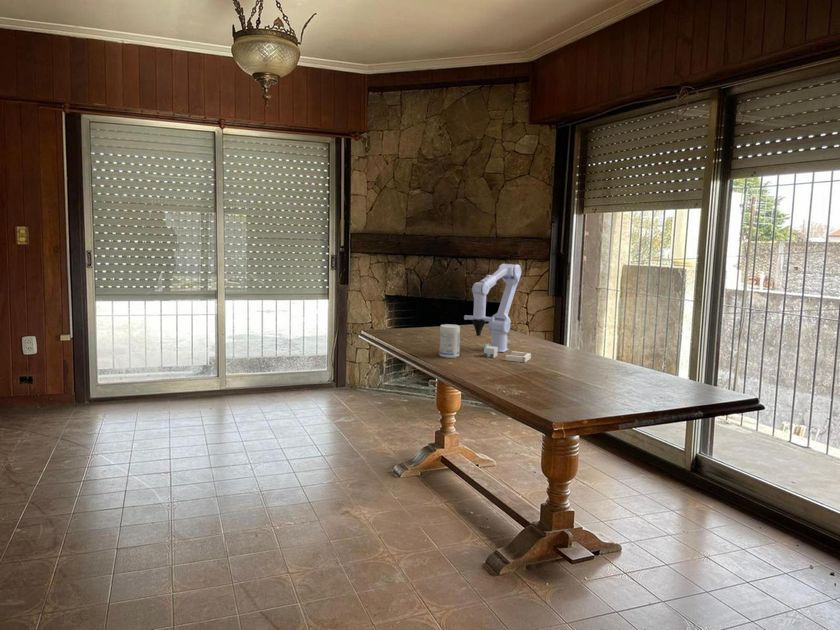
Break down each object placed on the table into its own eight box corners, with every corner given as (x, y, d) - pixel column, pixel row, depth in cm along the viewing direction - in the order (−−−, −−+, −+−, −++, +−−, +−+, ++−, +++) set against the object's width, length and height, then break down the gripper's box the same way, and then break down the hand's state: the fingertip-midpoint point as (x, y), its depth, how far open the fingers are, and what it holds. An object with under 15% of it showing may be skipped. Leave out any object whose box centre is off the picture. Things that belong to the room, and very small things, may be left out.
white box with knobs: (487, 354, 309) (488, 343, 308) (497, 355, 307) (498, 344, 306) (483, 357, 302) (483, 345, 301) (493, 358, 300) (493, 346, 299)
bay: (511, 356, 306) (512, 351, 306) (530, 358, 302) (531, 353, 302) (505, 360, 296) (505, 355, 295) (524, 362, 292) (525, 357, 292)
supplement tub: (450, 353, 308) (451, 323, 306) (463, 356, 300) (464, 326, 298) (434, 355, 302) (435, 324, 300) (448, 359, 294) (449, 327, 292)
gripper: (462, 307, 303) (461, 335, 305) (491, 309, 297) (490, 338, 299) (467, 305, 309) (466, 333, 311) (496, 308, 304) (494, 336, 306)
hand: (478, 335), depth 306 cm, fingers closed
